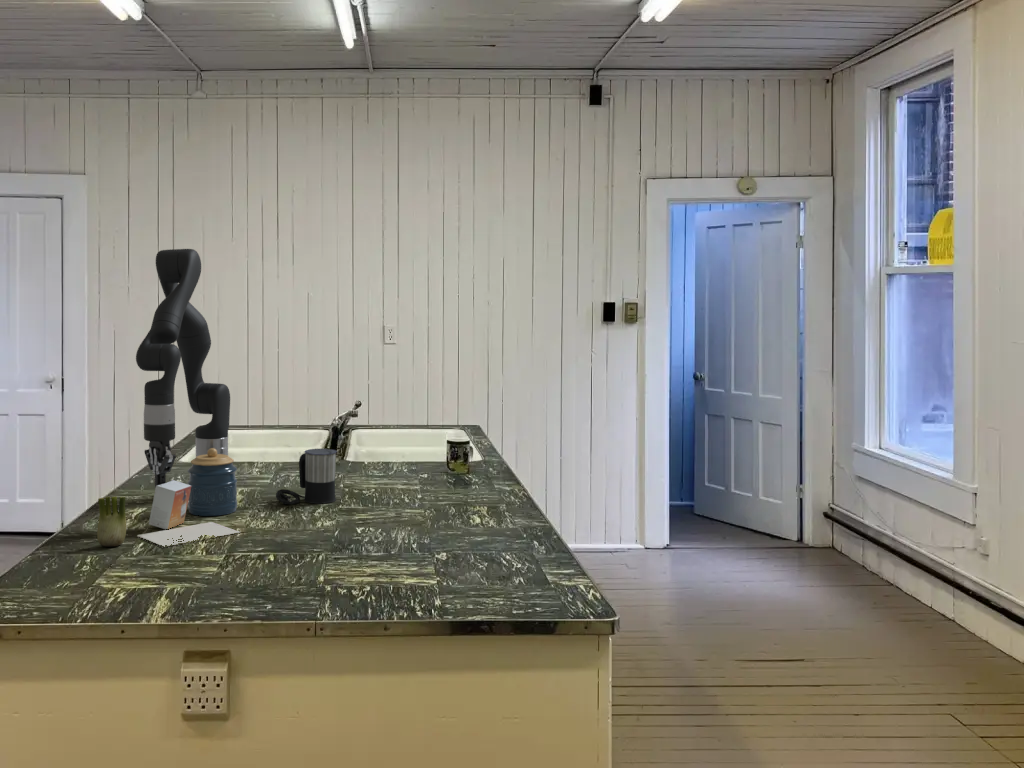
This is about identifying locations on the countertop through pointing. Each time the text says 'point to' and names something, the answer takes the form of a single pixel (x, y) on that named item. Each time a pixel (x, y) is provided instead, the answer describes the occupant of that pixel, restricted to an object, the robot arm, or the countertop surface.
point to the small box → (169, 504)
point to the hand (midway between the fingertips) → (160, 487)
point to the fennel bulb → (111, 522)
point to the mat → (187, 533)
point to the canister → (212, 485)
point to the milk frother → (314, 478)
